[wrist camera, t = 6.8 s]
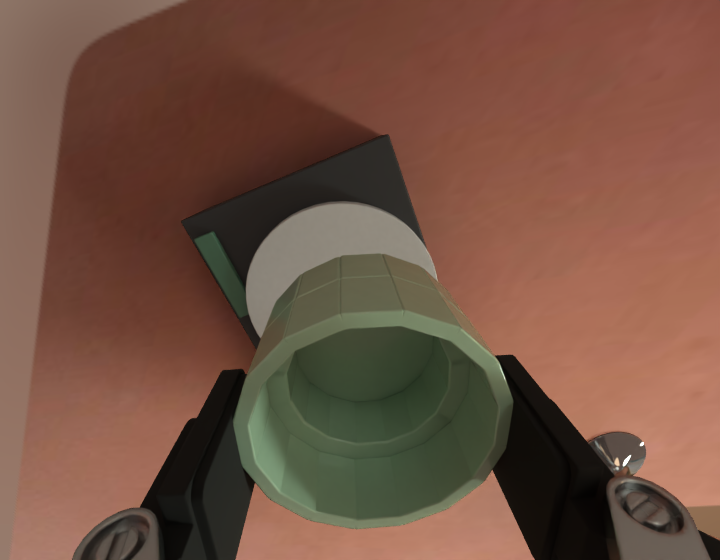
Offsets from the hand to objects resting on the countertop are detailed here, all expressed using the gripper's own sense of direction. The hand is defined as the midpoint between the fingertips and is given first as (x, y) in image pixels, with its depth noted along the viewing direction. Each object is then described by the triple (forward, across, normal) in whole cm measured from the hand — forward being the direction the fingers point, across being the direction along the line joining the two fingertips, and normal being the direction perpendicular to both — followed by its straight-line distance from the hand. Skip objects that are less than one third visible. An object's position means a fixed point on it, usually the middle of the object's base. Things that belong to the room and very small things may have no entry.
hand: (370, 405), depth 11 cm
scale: (+16, +2, +2) cm, 16 cm away
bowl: (+3, 0, -1) cm, 3 cm away
